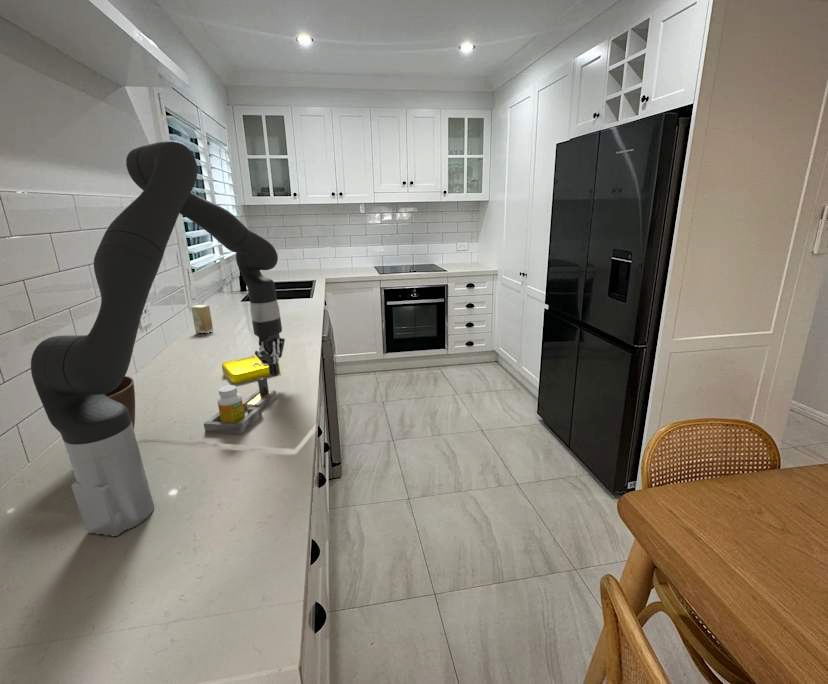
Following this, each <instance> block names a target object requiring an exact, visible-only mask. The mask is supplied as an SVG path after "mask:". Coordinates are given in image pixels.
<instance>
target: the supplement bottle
mask: <svg viewBox="0 0 828 684" xmlns="http://www.w3.org/2000/svg"><path fill="white" fill-rule="evenodd" d="M218 395H219V397H218V399H217V407H218V412H220V417H221V422H227V423H238V422H240V421H241V420H242V419H243V418H244V417H246V415H245V411H244V408H243V403H242V402H243V398H242V397H243V396H242V395H241V394H240V393H238V388H237V386H236V385H234V384H229V385H228V384H227V385H223V386H221V387H220V388H218Z"/></svg>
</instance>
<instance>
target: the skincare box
mask: <svg viewBox="0 0 828 684" xmlns="http://www.w3.org/2000/svg"><path fill="white" fill-rule="evenodd" d="M190 309H191V313H192V319H193V324H194V331H195V334H199V333H208V332H211V331H213V332H214V328H213V327H214V326H213V321H212V313H211V309H210V305H208V304H195V305H192V306H191V308H190ZM211 333H212V332H211ZM208 334H209V333H208Z"/></svg>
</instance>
